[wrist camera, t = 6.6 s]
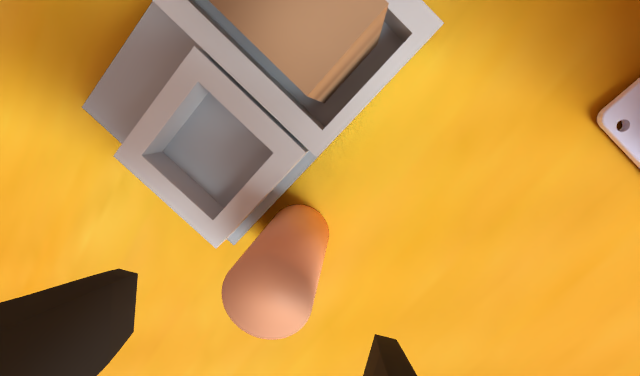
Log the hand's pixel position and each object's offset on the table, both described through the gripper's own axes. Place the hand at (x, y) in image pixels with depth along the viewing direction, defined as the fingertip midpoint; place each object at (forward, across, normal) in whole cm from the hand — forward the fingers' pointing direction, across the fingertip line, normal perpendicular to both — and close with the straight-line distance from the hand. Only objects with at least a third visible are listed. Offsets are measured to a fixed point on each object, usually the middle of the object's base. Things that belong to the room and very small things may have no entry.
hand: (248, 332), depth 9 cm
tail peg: (+8, 0, 0) cm, 8 cm away
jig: (+8, +4, -7) cm, 12 cm away
